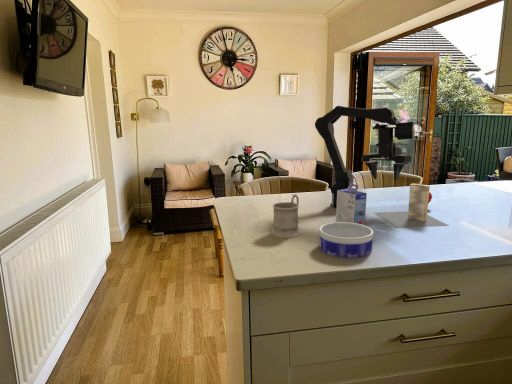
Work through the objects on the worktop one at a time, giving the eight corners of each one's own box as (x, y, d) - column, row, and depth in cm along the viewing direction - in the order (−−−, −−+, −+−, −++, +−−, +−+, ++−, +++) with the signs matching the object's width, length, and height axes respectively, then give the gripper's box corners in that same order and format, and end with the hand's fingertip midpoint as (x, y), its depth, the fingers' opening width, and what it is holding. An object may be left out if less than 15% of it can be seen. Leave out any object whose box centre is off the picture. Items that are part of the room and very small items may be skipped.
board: (407, 218, 133) (410, 184, 130) (410, 217, 134) (412, 183, 132) (424, 221, 128) (427, 186, 126) (426, 220, 130) (429, 185, 127)
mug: (292, 239, 114) (292, 203, 111) (265, 235, 119) (265, 199, 117) (310, 227, 126) (311, 194, 123) (285, 223, 131) (285, 191, 128)
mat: (395, 228, 122) (395, 227, 122) (373, 213, 142) (373, 212, 142) (449, 226, 124) (449, 225, 123) (419, 211, 143) (419, 210, 143)
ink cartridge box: (366, 226, 125) (367, 186, 123) (354, 229, 123) (355, 188, 120) (346, 220, 134) (348, 182, 131) (335, 222, 132) (336, 183, 129)
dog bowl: (381, 257, 99) (382, 236, 97) (326, 260, 98) (327, 239, 96) (360, 239, 114) (361, 220, 112) (313, 241, 112) (313, 222, 111)
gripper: (419, 138, 138) (418, 178, 141) (376, 139, 152) (376, 175, 155) (403, 140, 131) (403, 182, 134) (360, 141, 146) (361, 179, 149)
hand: (385, 179), depth 143 cm, fingers open, 9 cm apart
